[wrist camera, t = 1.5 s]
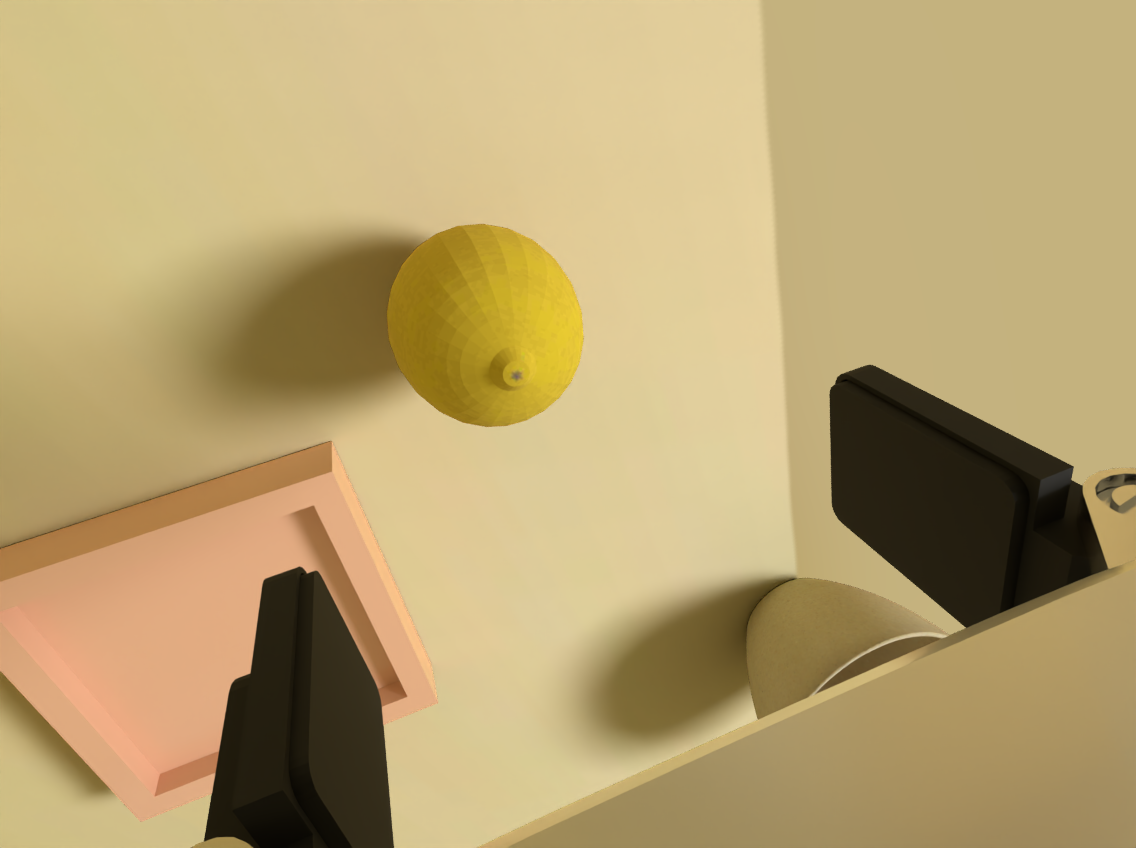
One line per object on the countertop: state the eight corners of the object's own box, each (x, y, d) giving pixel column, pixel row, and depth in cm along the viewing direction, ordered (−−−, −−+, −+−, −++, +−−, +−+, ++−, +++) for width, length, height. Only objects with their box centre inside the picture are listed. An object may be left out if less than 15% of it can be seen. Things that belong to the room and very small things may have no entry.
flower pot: (896, 539, 37) (1009, 633, 31) (824, 680, 40) (912, 788, 34) (742, 532, 33) (837, 637, 27) (678, 689, 37) (748, 811, 31)
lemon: (350, 325, 23) (362, 431, 16) (423, 171, 21) (468, 217, 15) (494, 385, 25) (555, 499, 19) (567, 251, 24) (662, 322, 17)
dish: (-31, 558, 22) (-63, 602, 21) (332, 441, 24) (332, 471, 23) (152, 772, 28) (140, 821, 27) (431, 664, 30) (438, 702, 29)
